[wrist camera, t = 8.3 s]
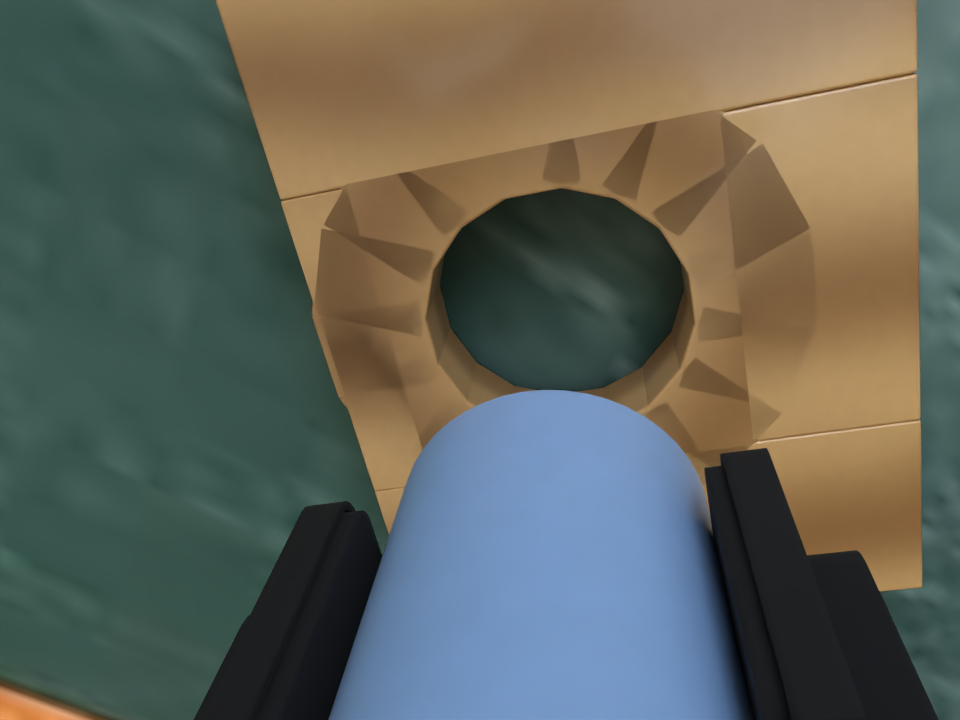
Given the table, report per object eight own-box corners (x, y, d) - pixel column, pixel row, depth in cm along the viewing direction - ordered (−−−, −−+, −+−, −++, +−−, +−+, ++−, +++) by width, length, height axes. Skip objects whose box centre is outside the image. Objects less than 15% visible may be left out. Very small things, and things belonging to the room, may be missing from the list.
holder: (234, -40, 17) (194, -38, 15) (876, -207, 15) (917, -228, 13) (428, 584, 24) (416, 636, 22) (894, 534, 21) (923, 588, 20)
